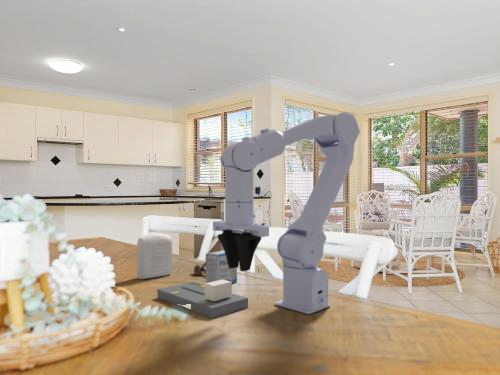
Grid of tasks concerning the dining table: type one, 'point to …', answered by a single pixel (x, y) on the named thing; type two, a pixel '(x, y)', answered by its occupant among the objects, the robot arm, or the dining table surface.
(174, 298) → the board
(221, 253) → the medicine box
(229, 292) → the fader
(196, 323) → the dining table surface
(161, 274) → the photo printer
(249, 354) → the dining table surface
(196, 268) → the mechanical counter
